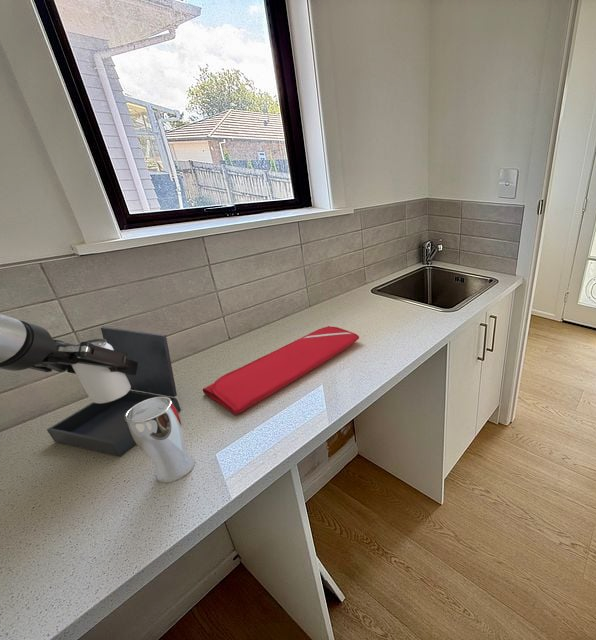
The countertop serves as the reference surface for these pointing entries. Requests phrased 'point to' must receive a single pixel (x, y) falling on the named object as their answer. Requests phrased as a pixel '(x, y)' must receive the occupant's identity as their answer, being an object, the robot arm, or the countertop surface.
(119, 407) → the tray
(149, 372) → the lid
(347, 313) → the countertop surface
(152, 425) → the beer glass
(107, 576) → the countertop surface
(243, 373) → the dish drying mat
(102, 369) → the can
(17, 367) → the robot arm
